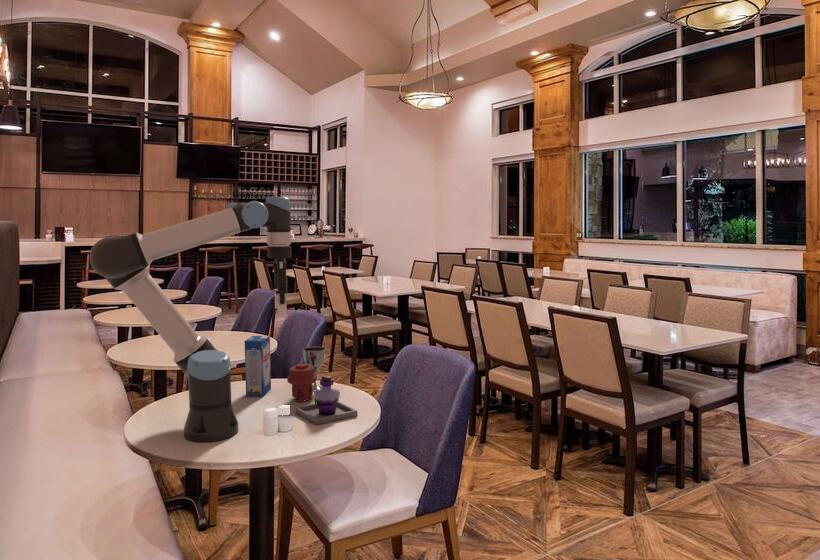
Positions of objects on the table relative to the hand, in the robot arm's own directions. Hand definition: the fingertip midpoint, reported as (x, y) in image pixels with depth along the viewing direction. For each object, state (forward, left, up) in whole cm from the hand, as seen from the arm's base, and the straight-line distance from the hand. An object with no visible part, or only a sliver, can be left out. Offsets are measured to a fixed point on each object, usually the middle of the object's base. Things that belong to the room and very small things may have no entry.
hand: (280, 311), depth 192 cm
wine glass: (+20, +16, -33) cm, 42 cm away
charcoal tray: (+9, -13, -33) cm, 36 cm away
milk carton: (+1, +23, -33) cm, 40 cm away
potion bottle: (+9, -13, -32) cm, 36 cm away
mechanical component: (+10, +6, -33) cm, 35 cm away
